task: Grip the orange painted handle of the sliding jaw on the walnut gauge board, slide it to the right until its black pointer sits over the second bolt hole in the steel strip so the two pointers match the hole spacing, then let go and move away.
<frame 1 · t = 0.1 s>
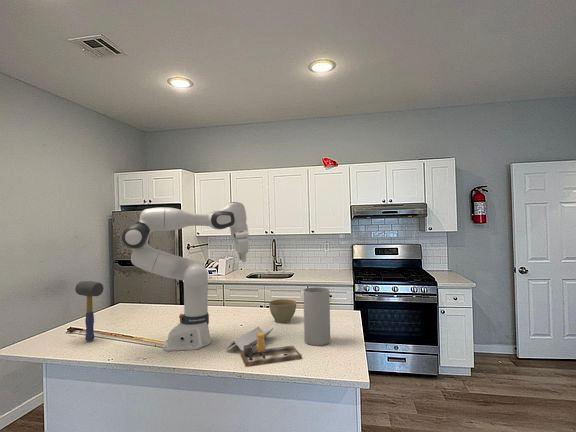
hand: (242, 260, 174), 39 cm above the table, tool pointing down, fingers open, 8 cm apart
z bracket: (250, 343, 164), on the table, touching gauge board
rubber mallet: (89, 341, 172), on the table
sliding jaw: (261, 344, 147), point 6 cm above the table, slide at 2.0 cm
gauge board: (270, 357, 148), on the table
cylinder vase: (317, 342, 166), on the table
planter bowl: (283, 321, 202), on the table
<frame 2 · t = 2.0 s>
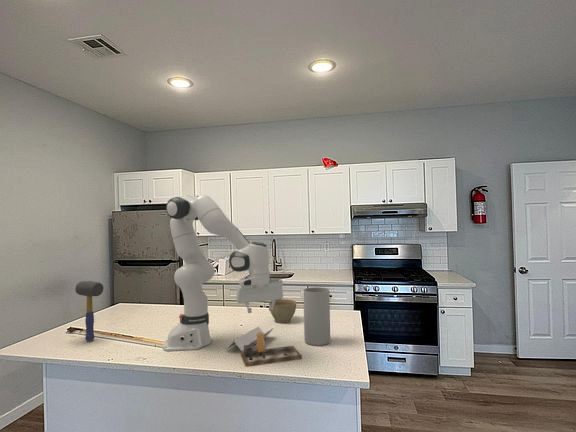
hand: (260, 311, 149), 20 cm above the table, tool pointing down, fingers open, 8 cm apart
nothing on the table moved.
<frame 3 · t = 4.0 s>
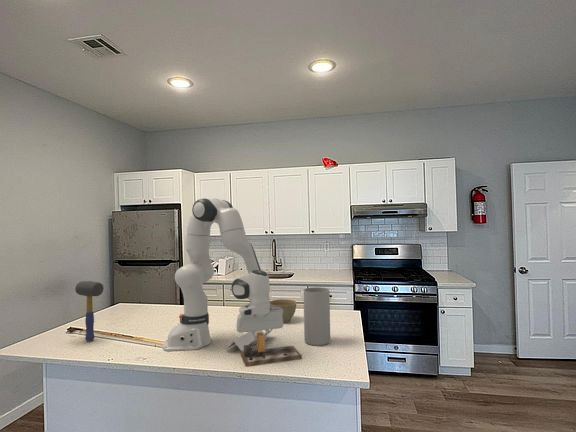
hand: (260, 340, 149), 7 cm above the table, tool pointing down, fingers closed on sliding jaw, 2 cm apart
sliding jaw: (261, 344, 147), point 6 cm above the table, slide at 2.0 cm, touching gripper
everything else where it was.
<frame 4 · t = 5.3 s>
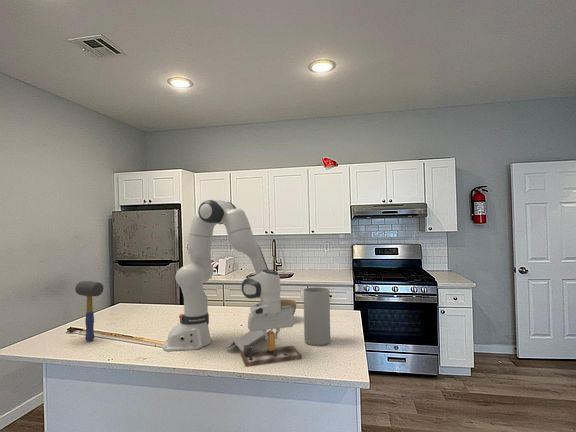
hand: (271, 338, 150), 7 cm above the table, tool pointing down, fingers closed on sliding jaw, 2 cm apart
sliding jaw: (272, 343, 148), point 6 cm above the table, slide at 6.9 cm, touching gripper
everything else where it was.
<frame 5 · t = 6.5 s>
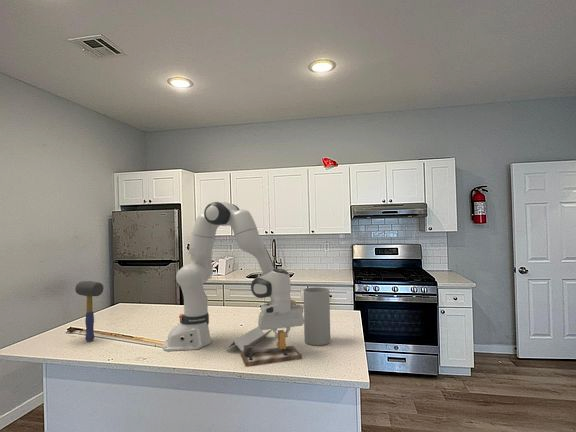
hand: (281, 337, 152), 7 cm above the table, tool pointing down, fingers closed on sliding jaw, 2 cm apart
sliding jaw: (283, 342, 149), point 6 cm above the table, slide at 11.5 cm, touching gripper
everything else where it was.
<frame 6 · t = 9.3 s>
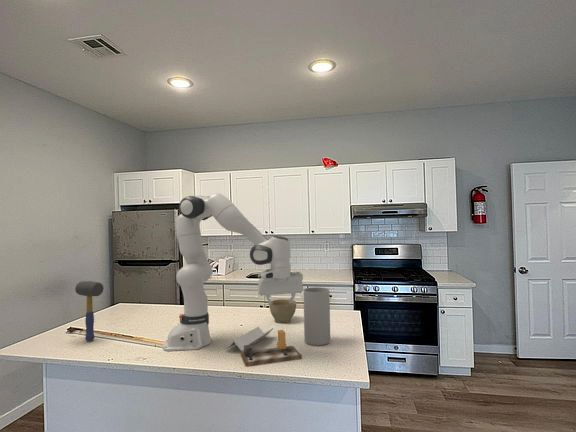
hand: (280, 304, 152), 22 cm above the table, tool pointing down, fingers open, 8 cm apart
sliding jaw: (283, 342, 149), point 6 cm above the table, slide at 11.6 cm
everything else where it was.
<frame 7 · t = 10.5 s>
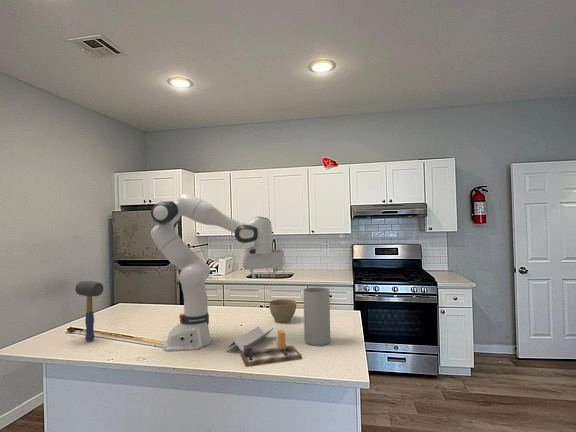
hand: (263, 277, 169), 31 cm above the table, tool pointing down, fingers open, 8 cm apart
nothing on the table moved.
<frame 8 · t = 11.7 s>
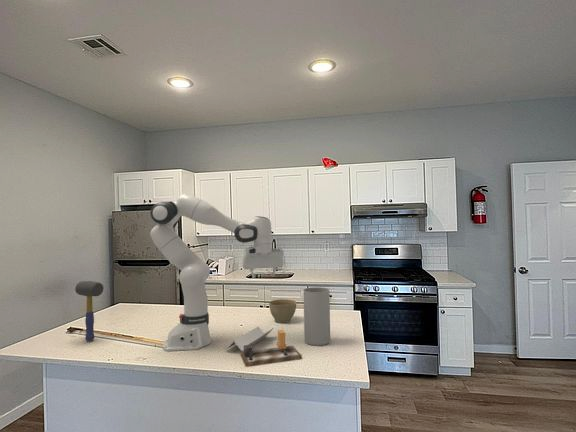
hand: (263, 277, 169), 31 cm above the table, tool pointing down, fingers open, 8 cm apart
nothing on the table moved.
at the end: sliding jaw slide at 11.6 cm; the gripper is holding nothing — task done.
